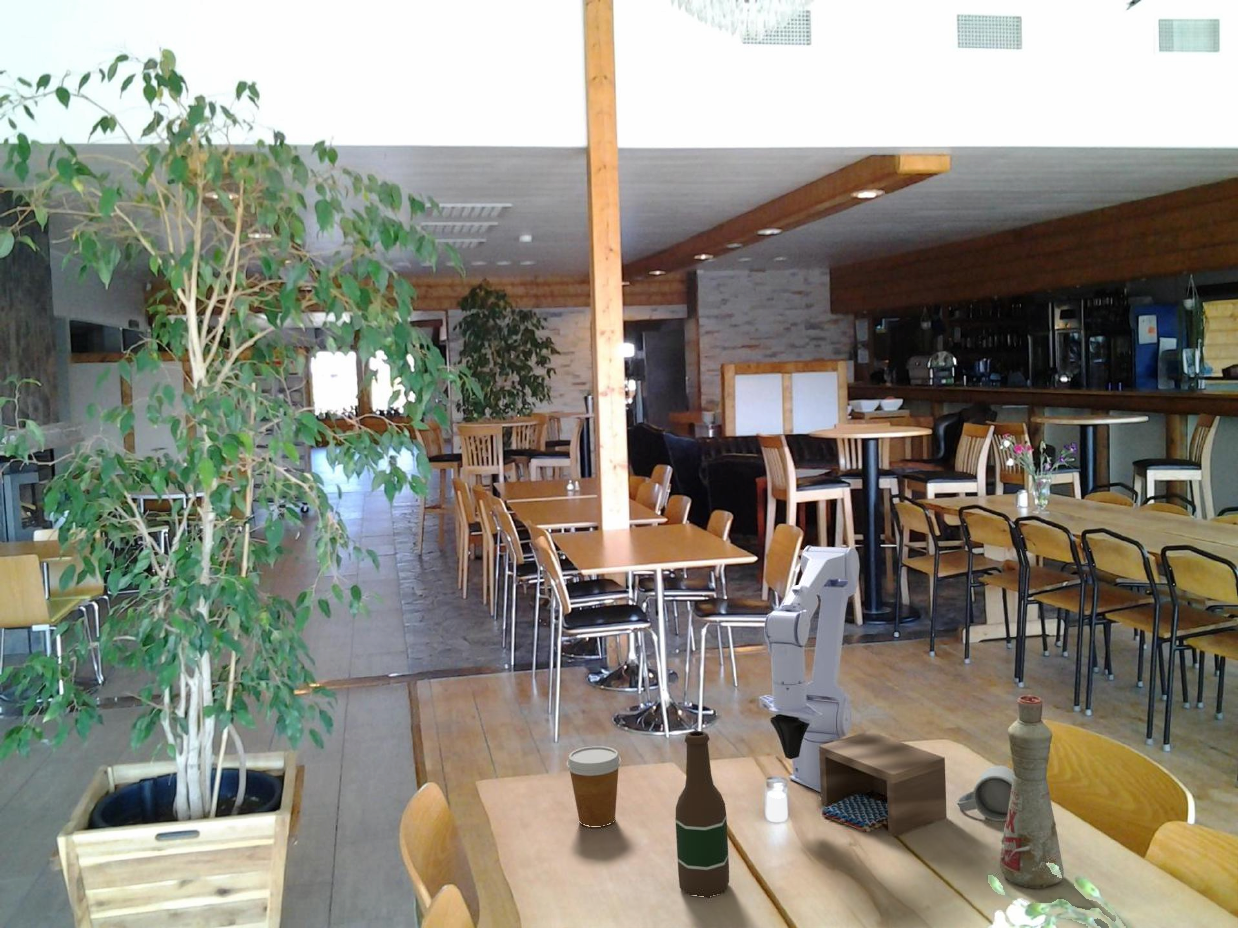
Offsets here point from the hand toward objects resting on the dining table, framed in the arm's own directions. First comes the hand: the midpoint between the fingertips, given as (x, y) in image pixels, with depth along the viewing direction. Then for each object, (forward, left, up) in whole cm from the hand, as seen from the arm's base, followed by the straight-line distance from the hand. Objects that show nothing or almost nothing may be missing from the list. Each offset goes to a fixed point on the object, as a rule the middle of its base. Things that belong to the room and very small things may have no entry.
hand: (792, 756), depth 199 cm
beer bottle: (+12, -28, -11) cm, 32 cm away
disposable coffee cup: (-20, -28, -11) cm, 36 cm away
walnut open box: (+8, +13, -10) cm, 18 cm away
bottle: (+40, +12, -11) cm, 43 cm away
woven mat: (+7, +9, -11) cm, 16 cm away
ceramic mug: (+20, +27, -11) cm, 35 cm away
